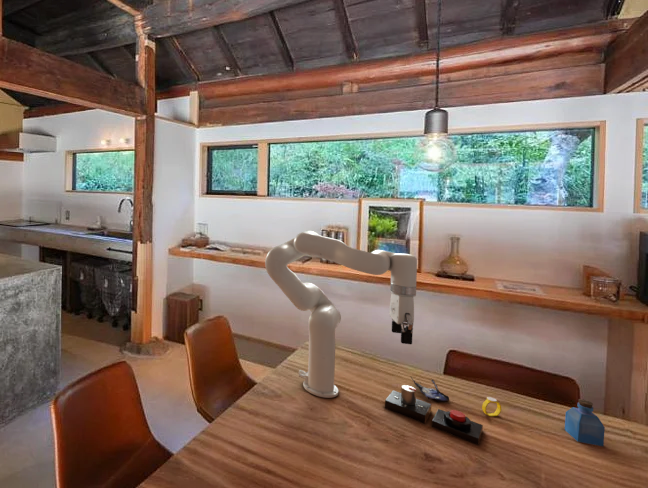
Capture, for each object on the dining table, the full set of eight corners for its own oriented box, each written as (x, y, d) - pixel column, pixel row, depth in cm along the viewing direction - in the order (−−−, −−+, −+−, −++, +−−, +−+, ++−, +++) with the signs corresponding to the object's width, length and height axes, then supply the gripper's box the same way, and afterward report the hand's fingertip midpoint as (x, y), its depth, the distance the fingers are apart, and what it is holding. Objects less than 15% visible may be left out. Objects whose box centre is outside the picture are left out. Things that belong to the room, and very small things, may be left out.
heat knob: (399, 401, 140) (400, 387, 140) (402, 396, 143) (403, 382, 143) (413, 407, 137) (414, 392, 136) (416, 402, 140) (417, 387, 139)
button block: (431, 426, 131) (432, 415, 130) (438, 414, 137) (438, 403, 137) (478, 445, 122) (478, 432, 122) (482, 431, 129) (483, 419, 129)
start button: (448, 418, 130) (449, 413, 130) (451, 413, 132) (451, 408, 132) (464, 424, 127) (464, 418, 127) (466, 418, 129) (466, 413, 129)
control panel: (384, 408, 141) (385, 399, 141) (392, 397, 148) (393, 389, 147) (424, 424, 132) (425, 414, 132) (431, 412, 139) (431, 403, 139)
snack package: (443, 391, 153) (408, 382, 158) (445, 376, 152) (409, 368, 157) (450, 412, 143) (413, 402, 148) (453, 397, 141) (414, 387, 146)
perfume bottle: (588, 434, 128) (591, 398, 128) (603, 446, 123) (605, 409, 122) (564, 429, 130) (566, 394, 130) (577, 441, 125) (580, 405, 124)
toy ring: (495, 413, 139) (496, 396, 139) (503, 417, 136) (504, 401, 136) (479, 413, 139) (480, 396, 139) (486, 418, 136) (487, 401, 136)
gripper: (383, 282, 145) (382, 327, 145) (399, 295, 128) (397, 346, 129) (406, 284, 143) (405, 330, 143) (425, 297, 126) (423, 349, 127)
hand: (401, 337), depth 136 cm, fingers open, 9 cm apart
